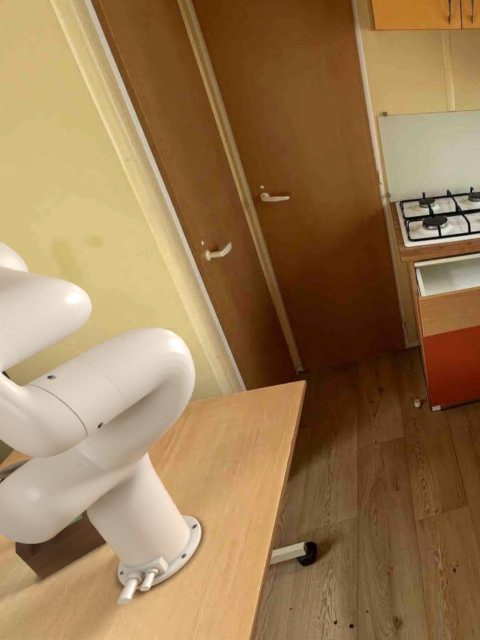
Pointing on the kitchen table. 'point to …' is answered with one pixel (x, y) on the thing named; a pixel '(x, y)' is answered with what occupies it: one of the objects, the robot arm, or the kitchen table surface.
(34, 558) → the brown piece
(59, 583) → the kitchen table surface
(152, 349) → the robot arm
